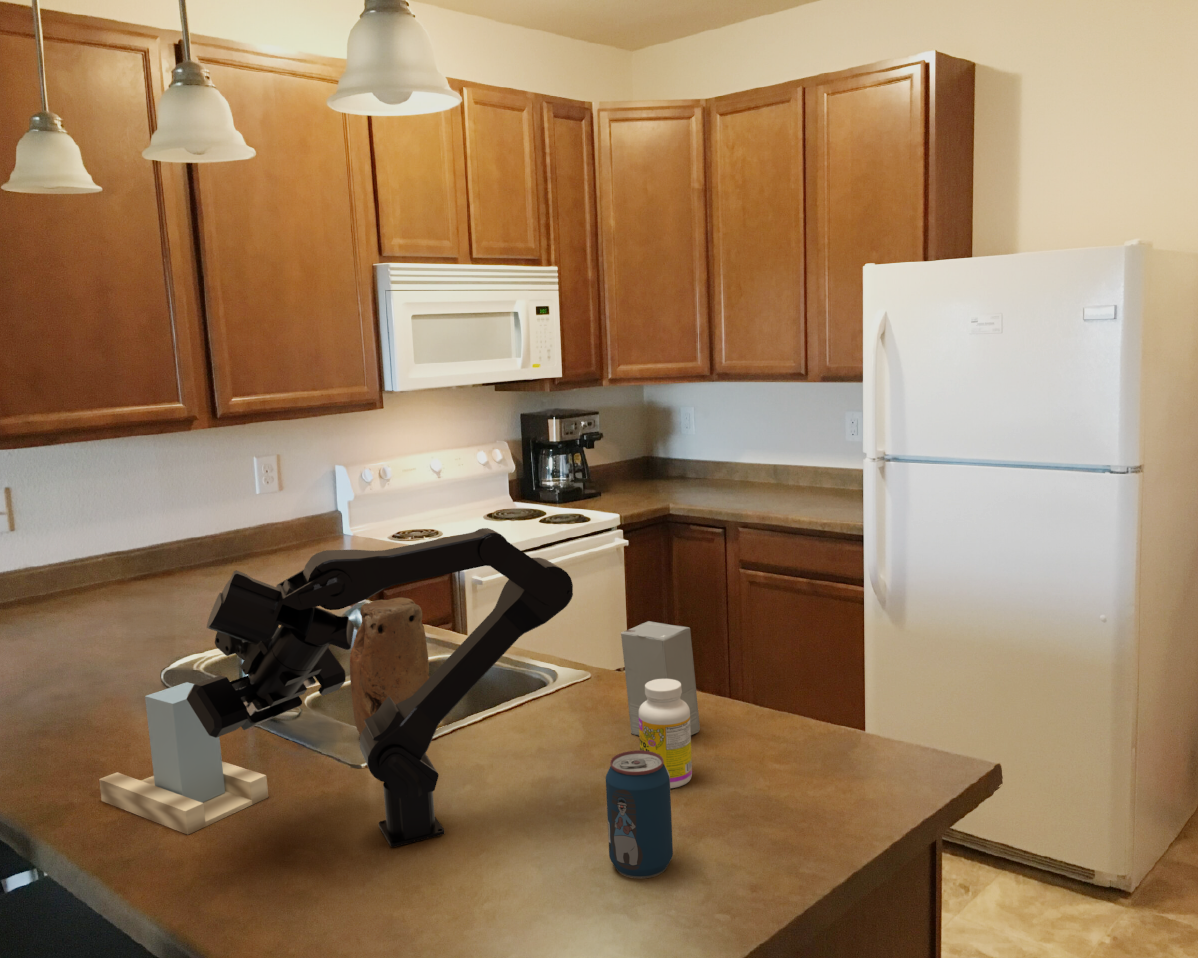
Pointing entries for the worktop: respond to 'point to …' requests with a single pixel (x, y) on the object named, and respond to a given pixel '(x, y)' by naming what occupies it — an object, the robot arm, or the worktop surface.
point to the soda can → (639, 814)
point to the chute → (184, 799)
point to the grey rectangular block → (182, 746)
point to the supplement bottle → (667, 728)
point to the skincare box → (658, 665)
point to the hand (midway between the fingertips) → (244, 726)
